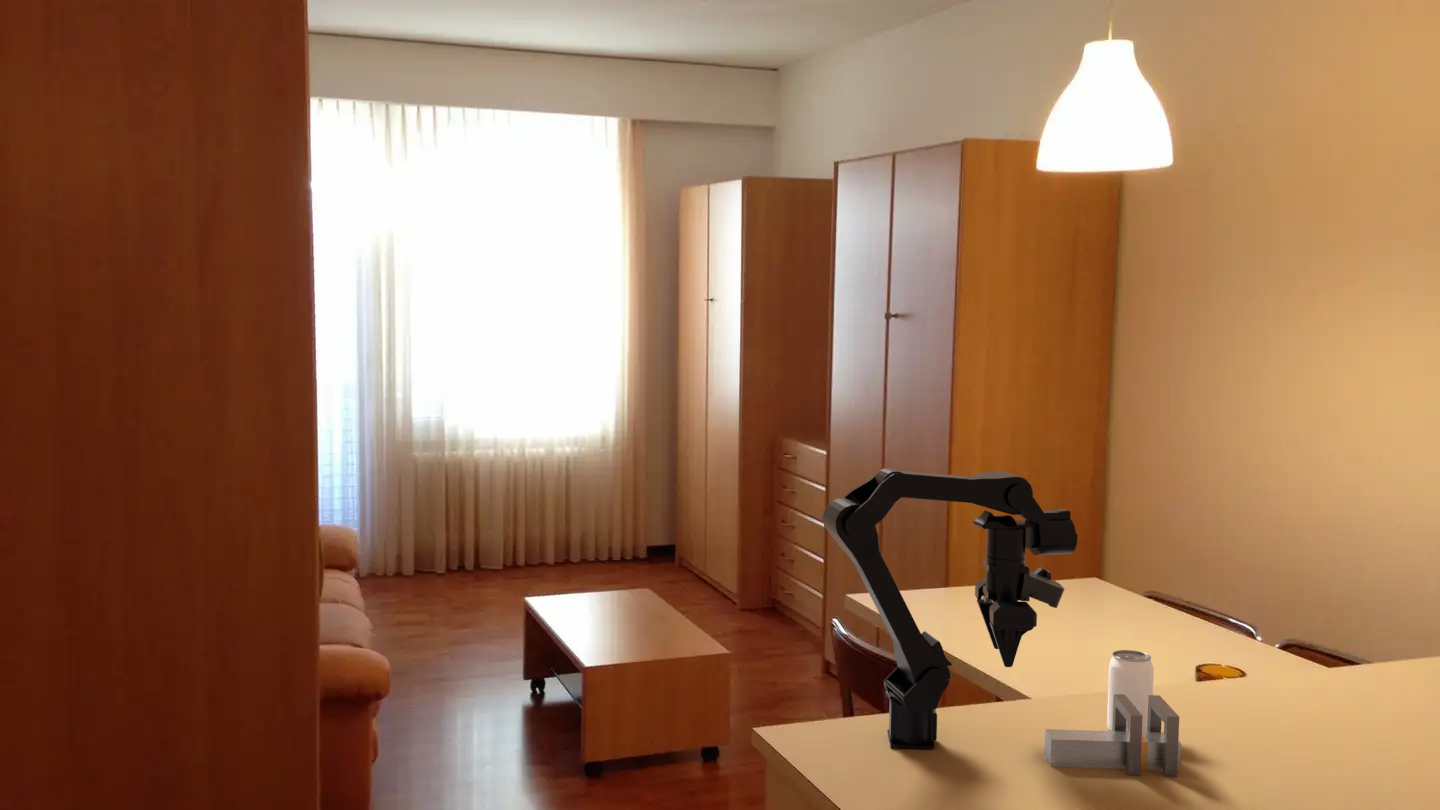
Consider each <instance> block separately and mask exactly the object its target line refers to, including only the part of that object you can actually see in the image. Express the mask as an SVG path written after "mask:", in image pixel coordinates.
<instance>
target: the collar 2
mask: <svg viewBox="0 0 1440 810" xmlns="http://www.w3.org/2000/svg"><path fill="white" fill-rule="evenodd" d="M1162 722H1163V725H1164V726H1163V733H1164V743H1163V768H1162V770H1161V771H1162V775H1163V776H1164V777H1166V778H1169V777H1171V778H1177V777H1178V770H1177V763H1178V740H1179V738H1180V736H1179V735H1180V734H1179V733H1180V731H1179V730H1180V716H1179V715H1178V713H1177V712H1176V711H1175V710H1174V709H1173V708H1172V707H1171V706H1170V705H1169V703H1167V702H1166V701H1165V699H1164V698H1162V696H1161V695H1160V694H1159V695H1157V694H1153V695H1148V721H1147V732H1158V733H1162Z"/></svg>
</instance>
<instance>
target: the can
mask: <svg viewBox="0 0 1440 810" xmlns="http://www.w3.org/2000/svg"><path fill="white" fill-rule="evenodd" d="M1151 659H1152V657H1151V655H1150V654H1148V653H1145V652H1142V651H1138V650H1131V649H1130V650H1129V649H1120V650H1115V651H1113V652H1112V657H1111V659H1110V661H1109V664H1108V685H1107V711H1106V713H1107V714H1106V715H1107V716H1106V717H1107V718H1106V727H1107V730H1108V731H1112V726H1113V698H1114V694H1125V695H1126V697H1127V698H1128V699H1129V700H1130V701H1131V703H1132V704H1133V705H1134V706H1135V707H1136V708H1137V710H1138V711H1139V712H1140V713H1141V714H1142V716H1143V717H1142V732H1147V721H1148V695H1154V694H1153V693H1154V670H1155V669H1154V665H1153V663H1152V661H1151ZM1127 731H1128V721H1127V720H1126V732H1127Z"/></svg>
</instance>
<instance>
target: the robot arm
mask: <svg viewBox="0 0 1440 810" xmlns="http://www.w3.org/2000/svg"><path fill="white" fill-rule="evenodd" d="M901 498H904V499H905V498H906V499H917V500H931V501H939V502H953V503H954V502H955V503H965V504H966V503H967V504H968V503H969V504H973V505H977V506H980V507H984V508H988V509H990V510H993V511H994V510H995V511H998V512H1001V513H1004V515H1000V514H999V515H994V514H993V513H992V512H991V511H988V510H983V512H982V514H980V515H979V516H978V517H976V518H975V519H974V520H972V521H973V522H972V523H973V525H974V526H976V527H978V528H981V529H982V530H986V548H985V549H986V554H985V555H986V556H985V558H983V566H984V568H985V578H980V579H979V580H978V581H977V582H975V584H974V588H975V589H974V596H975V598H976V603H977V605H978V608H979V611H980V614H981V615H982V619H983V621H984V624H985V627H986V629H987V633H988V634H989V638H990V641H991V644H992V645H993V648H994V649H995V650H998V652H999V654H1000V658H1001V660H1002V663H1003V666H1004V667H1005V668H1012V667H1013V666H1014V662H1015V659H1016V655H1017V651H1018V649H1019V645H1020V643H1021V641H1022V637H1023V635H1025V634H1026V633H1027V632H1030V631H1033V629H1034V628H1035V627H1038V625H1037V623H1038V622H1037V621H1038V614H1037V612H1036V611H1035V610H1034V608H1033V607H1032V606H1031V605H1030V604H1029V603H1028V602H1030V599H1031V598H1032V599H1034V600H1035V601H1038V602H1042V603H1044V604H1047V605H1048V606H1049V607H1051V608H1054V609H1057V608H1058V606H1059V603H1060V602H1061V600H1062V597H1063V594H1064V592H1065V588H1064V586H1062V584H1060V583H1059V582H1057V581H1056V580H1055V579H1052V575H1051V574H1052V573H1051V571H1049V570H1048V569H1046V568H1044V567H1042V566H1041V567H1039V568H1037V569H1036V570H1034V572H1033V571H1031V570H1030V567H1029V566H1028V565H1027V564H1026V549H1028V550H1029V552H1030V553H1031V554H1032V555H1034V556H1043V555H1044V556H1045V555H1046V556H1047V555H1048V556H1049V555H1050V556H1051V555H1070V554H1073V553H1074V551H1075V550H1076V548H1077V546H1078V533H1077V532H1076V525H1075V523H1074V521H1073V520H1072V519H1071V511H1070V510H1068V509H1065V508H1056V509H1053V510H1043V509H1042V508H1041V506H1040V505H1039V503H1038V502H1037V500H1036V499H1035V497H1034V493H1033V488H1032V485H1031V483H1030V482H1029V480H1028V479H1026V478H1025V477H1022V476H1018V475H1015V474H1012V473H1009V472H1007V471H1003V470H1001V471H1000V470H999V471H989V472H988V471H987V472H986V471H985V472H979V473H977V474H972V475H958V474H957V475H954V474H944V473H943V474H942V473H933V472H932V473H931V472H930V473H929V472H921V471H920V472H919V471H911V470H910V471H908V470H896V469H894V468H892V467H887V468H882V469H880V470H878V472H877V473H875V474H874V475H873V476H871V478H869V479H868V480H867V481H864V482H863V483H861V484H859V485H858V486H856V487H854V488H853V489H851V490H850V491H849V492H848V493H846V494H845V495H844V496H842V497H839V498H836V499H834V500H832V501H831V502H830V503H828V505H826V507H825V508H824V511H823V515H822V523H823V525H824V527H825V529H826V531H827V532H828V534H829V535H831V537H832V538H833V540H834V541H835V542H836V544H837V545H838V546H839V547H840V548H841V549H842V550H843V552H844V553H845V554H846V555H847V556H848V558H849V559H850V560H851V561H852V563H853V564H854V566H855V569H856V570H857V572H858V574H859V576H860V578H861V580H862V582H863V584H864V586H865V588H866V590H867V592H868V594H869V596H870V598H871V600H872V602H873V604H874V606H875V607H876V609H877V611H878V613H879V615H880V618H881V620H882V621H883V623H884V625H885V627H886V629H887V631H888V632H889V635H890V637H891V639H892V643H893V644H892V645H893V654H894V658H895V661H896V665H897V666H896V667H895V668H894V669H893V670H892V671H891V672H890V673H889V675H887V676H886V678H885V679H884V680H883V684H884V686H885V690H886V693H888V694H889V695H890V696H889V709H888V712H889V713H888V714H889V716H888V721H889V722H888V725H889V726H888V729H887V730H886V731H887V732H886V733H887V738H888V743H889V747H890V748H896V749H897V748H900V749H931V750H932V749H935V742H936V741H937V737H938V712H937V708H938V706H939V703H940V701H941V698H942V695H943V693H944V692H945V691H946V689H947V688H948V686H949V683H950V681H951V679H952V673H951V670H950V668H949V667H951V666H953V663H951V662H950V661H949V660H948V658H947V657H946V655H945V652H944V648H943V646H942V643H941V642H940V641H939V640H938V639H937V638H936V637H934V636H932V635H931V634H930V633H928V631H927V632H926V631H925V630H924V631H923V632H920V629H919V627H918V624H917V623H916V621H915V619H914V617H913V615H912V613H911V612H910V610H909V608H908V605H907V603H906V601H905V599H904V598H903V595H902V594H901V591H900V589H899V588H898V586H897V584H896V581H895V579H894V578H893V575H892V574H891V571H890V570H889V568H888V565H887V564H886V562H885V559H884V558H883V556H882V553H881V548H880V547H881V546H880V537H879V533H878V530H877V525H878V524H879V523H880V522H881V521H883V519H885V517H886V516H887V514H888V513H889V512H890V510H891V509H892V508H893V506H895V504H896V503H897V502H898V501H899V500H901ZM1008 514H1009V515H1008ZM1012 515H1013V516H1015V515H1016V516H1018V517H1021V518H1023V520H1015V518H1014V517H1013V516H1012Z"/></svg>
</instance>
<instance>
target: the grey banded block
mask: <svg viewBox="0 0 1440 810" xmlns="http://www.w3.org/2000/svg"><path fill="white" fill-rule="evenodd" d="M1044 730H1045V731H1044V734H1045V735H1044V757H1046V758H1045V759H1046V762H1047V763H1048V764H1049V767H1053V768H1055V767H1058V766H1060V767H1059V768H1089V769H1090V768H1091V769H1092V768H1093V769H1121V770H1122V769H1123V770H1126V758H1127V732H1124V731H1109V730H1086V729H1084V730H1083V729H1081V730H1080V729H1052V728H1050V729H1049V728H1048V729H1047V728H1046V729H1044ZM1163 743H1164V732H1161V733H1158V732H1142V743H1141V769H1140V770H1146V771H1147V770H1151V771H1153V770H1155V771H1159V770H1160V771H1162V768H1163ZM1181 747H1182V742H1180V741H1179V739H1178V763H1177V771H1178V770H1180V771H1181V749H1182V748H1181ZM1054 766H1055V767H1054Z"/></svg>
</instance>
